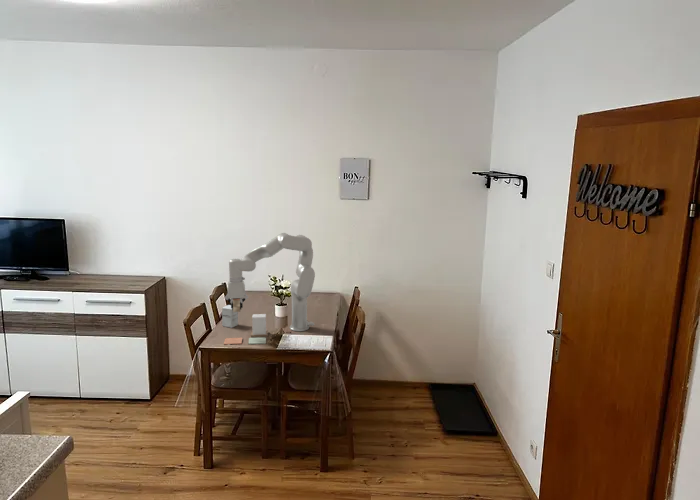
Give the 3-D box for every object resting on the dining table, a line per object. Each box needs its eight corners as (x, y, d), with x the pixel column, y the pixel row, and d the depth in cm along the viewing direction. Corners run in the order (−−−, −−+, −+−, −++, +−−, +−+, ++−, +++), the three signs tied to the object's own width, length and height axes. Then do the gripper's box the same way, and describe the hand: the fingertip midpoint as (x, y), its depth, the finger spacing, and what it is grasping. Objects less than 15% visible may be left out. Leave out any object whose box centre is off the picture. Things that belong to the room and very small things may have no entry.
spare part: (240, 309, 305) (240, 297, 304) (240, 311, 302) (239, 298, 300) (233, 309, 305) (233, 297, 303) (233, 311, 301) (232, 299, 299)
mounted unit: (267, 332, 313) (267, 313, 311) (267, 336, 306) (267, 317, 303) (251, 332, 312) (251, 313, 310) (250, 337, 304) (250, 318, 302)
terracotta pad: (242, 338, 302) (242, 337, 302) (241, 344, 293) (241, 343, 293) (225, 339, 300) (225, 338, 300) (223, 344, 292) (223, 343, 292)
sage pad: (265, 338, 303) (265, 337, 303) (265, 343, 294) (265, 342, 294) (249, 338, 302) (249, 337, 301) (248, 344, 293) (248, 343, 293)
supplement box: (222, 326, 323) (221, 307, 320) (229, 322, 329) (228, 304, 327) (231, 328, 320) (230, 309, 317) (238, 324, 326) (238, 306, 324)
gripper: (250, 277, 304) (251, 306, 308) (222, 278, 302) (223, 307, 305) (249, 280, 297) (250, 310, 301) (220, 281, 295) (222, 311, 298)
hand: (236, 308), depth 303 cm, fingers closed on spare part, 4 cm apart
